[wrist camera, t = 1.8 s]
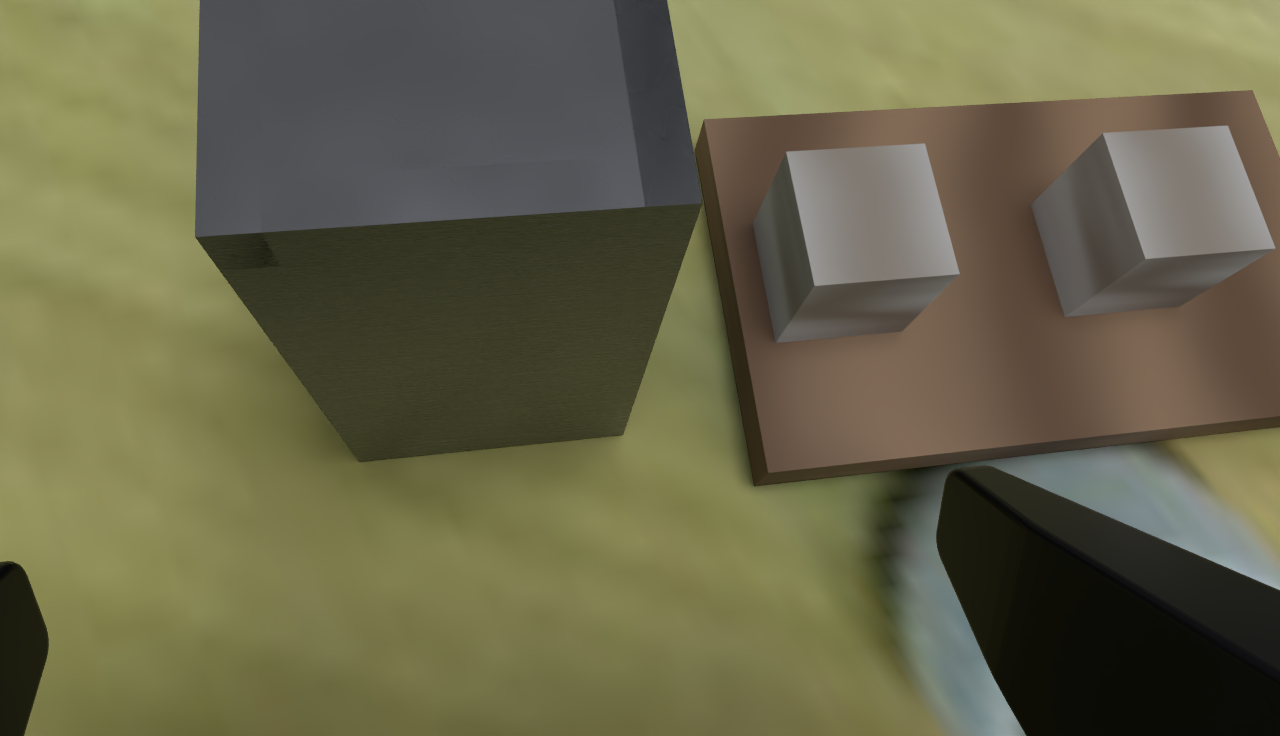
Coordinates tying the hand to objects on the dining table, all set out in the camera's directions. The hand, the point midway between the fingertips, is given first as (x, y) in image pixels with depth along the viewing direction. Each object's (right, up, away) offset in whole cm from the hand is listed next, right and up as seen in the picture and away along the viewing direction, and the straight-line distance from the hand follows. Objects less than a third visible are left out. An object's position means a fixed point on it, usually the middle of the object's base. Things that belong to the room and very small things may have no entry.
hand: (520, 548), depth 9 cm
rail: (+12, +4, +18) cm, 22 cm away
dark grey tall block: (-3, +3, +15) cm, 16 cm away
